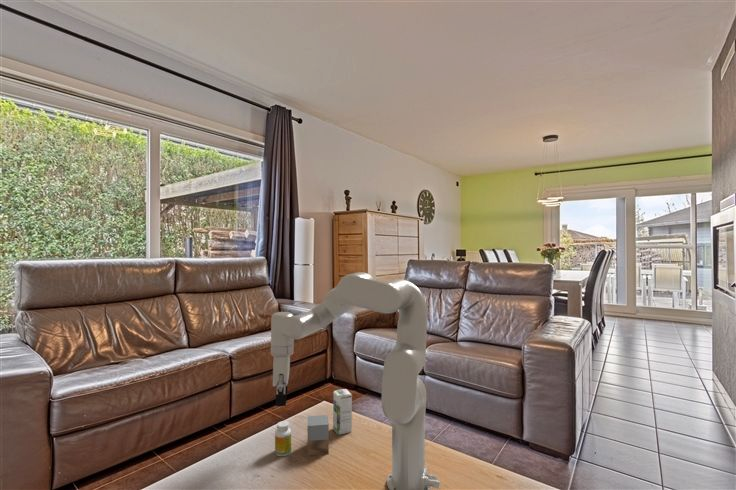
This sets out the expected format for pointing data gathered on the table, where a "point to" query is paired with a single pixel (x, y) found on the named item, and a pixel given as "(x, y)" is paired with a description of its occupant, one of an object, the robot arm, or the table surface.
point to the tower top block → (318, 427)
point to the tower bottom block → (318, 447)
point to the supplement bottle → (283, 439)
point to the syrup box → (342, 411)
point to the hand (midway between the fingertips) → (281, 399)
